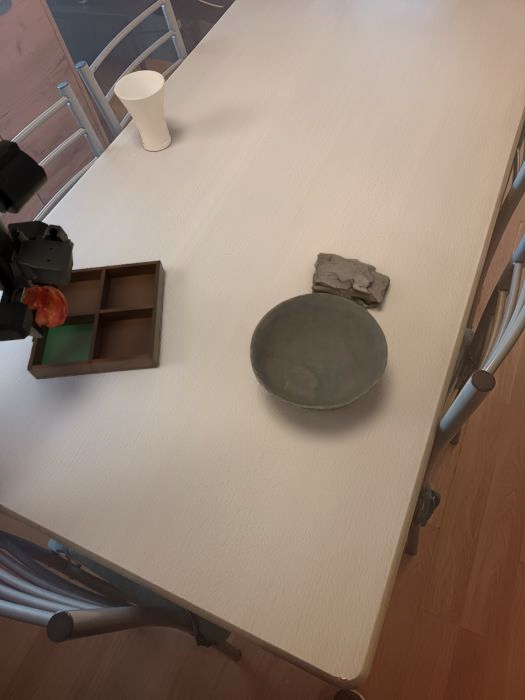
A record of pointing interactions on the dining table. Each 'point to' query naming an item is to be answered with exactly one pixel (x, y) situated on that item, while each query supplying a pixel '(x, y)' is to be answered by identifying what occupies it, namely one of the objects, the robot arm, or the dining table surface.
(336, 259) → the rock
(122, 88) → the cup
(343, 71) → the dining table surface
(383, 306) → the dining table surface
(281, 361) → the bowl
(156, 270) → the four compartment tray
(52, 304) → the red round fruit
